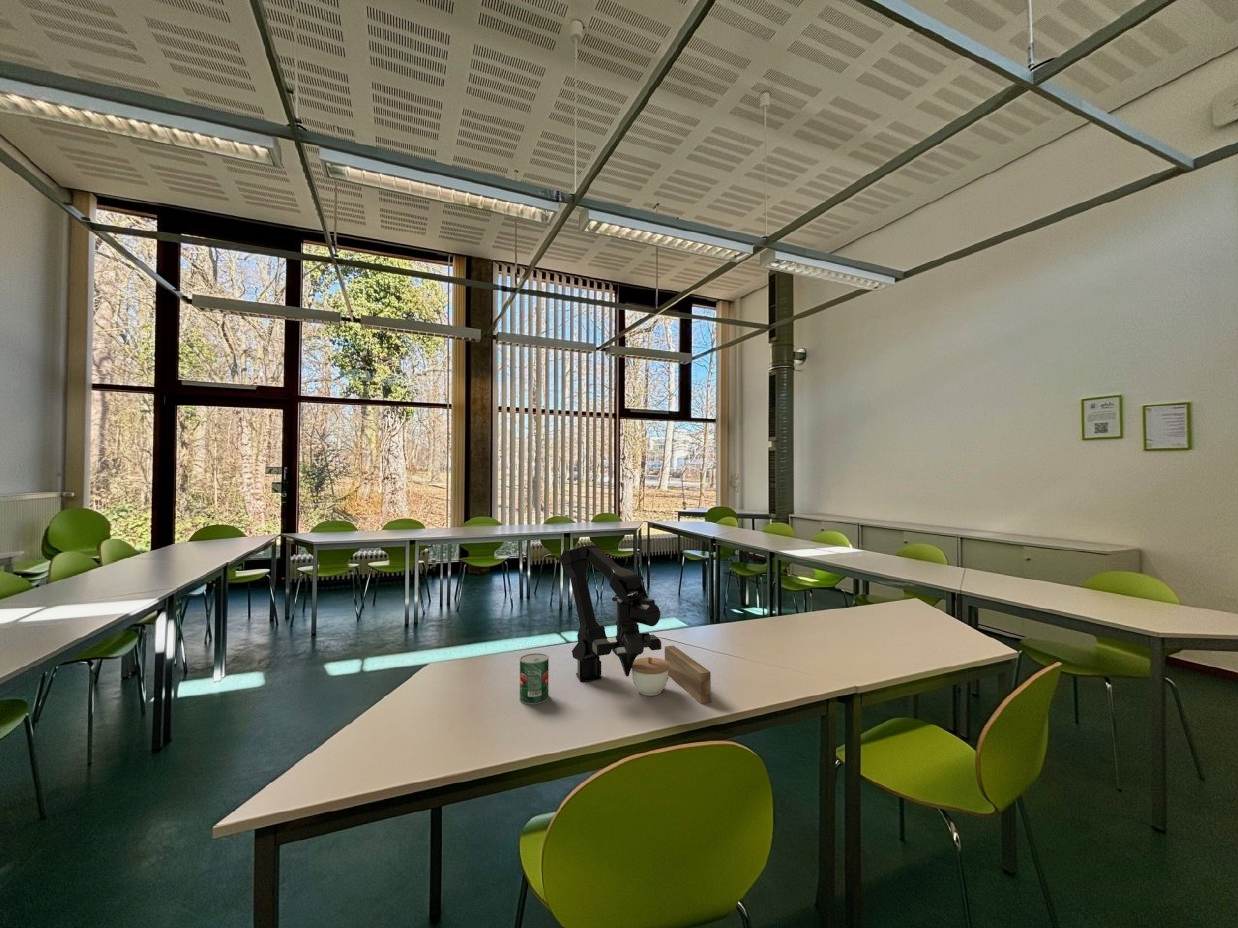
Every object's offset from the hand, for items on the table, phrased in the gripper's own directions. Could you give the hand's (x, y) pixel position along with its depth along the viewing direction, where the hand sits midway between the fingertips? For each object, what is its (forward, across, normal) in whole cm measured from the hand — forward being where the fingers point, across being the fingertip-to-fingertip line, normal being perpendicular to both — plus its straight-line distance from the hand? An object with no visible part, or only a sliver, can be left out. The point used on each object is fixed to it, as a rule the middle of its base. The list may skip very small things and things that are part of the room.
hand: (626, 675), depth 140 cm
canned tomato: (+6, -25, +6) cm, 26 cm away
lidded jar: (+5, +7, 0) cm, 9 cm away
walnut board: (+5, +18, 0) cm, 19 cm away
